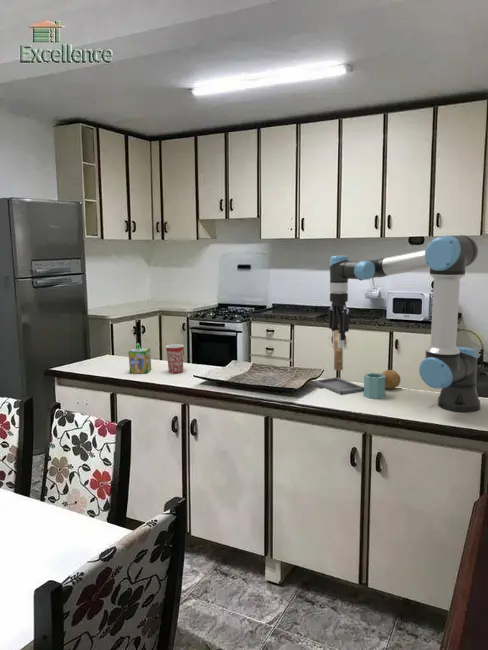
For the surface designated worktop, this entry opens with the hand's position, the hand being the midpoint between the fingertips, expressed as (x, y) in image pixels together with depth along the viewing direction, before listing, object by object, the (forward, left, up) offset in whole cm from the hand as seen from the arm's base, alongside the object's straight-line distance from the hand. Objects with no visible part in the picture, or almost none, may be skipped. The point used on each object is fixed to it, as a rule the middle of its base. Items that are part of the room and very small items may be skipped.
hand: (338, 346), depth 226 cm
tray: (0, 0, -19) cm, 19 cm away
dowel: (0, 0, -10) cm, 10 cm away
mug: (+69, +51, -19) cm, 88 cm away
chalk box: (+78, +68, -19) cm, 105 cm away
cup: (-18, -5, -19) cm, 27 cm away
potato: (-10, -19, -19) cm, 29 cm away
